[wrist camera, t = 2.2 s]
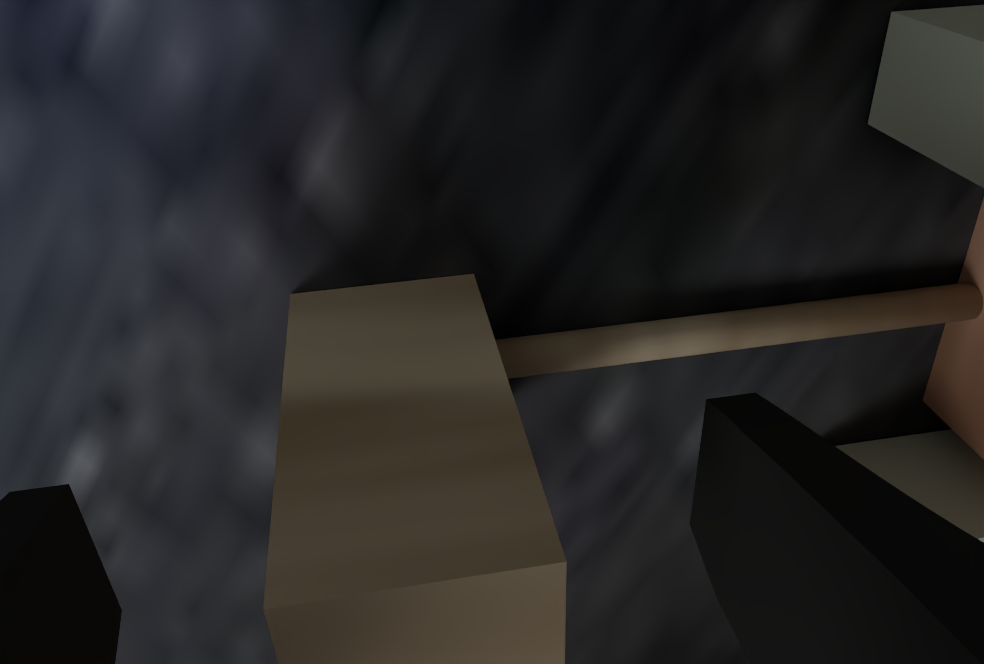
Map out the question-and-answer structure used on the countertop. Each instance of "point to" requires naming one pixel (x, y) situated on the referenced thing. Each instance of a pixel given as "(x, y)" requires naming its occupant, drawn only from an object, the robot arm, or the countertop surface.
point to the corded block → (488, 457)
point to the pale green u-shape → (968, 152)
